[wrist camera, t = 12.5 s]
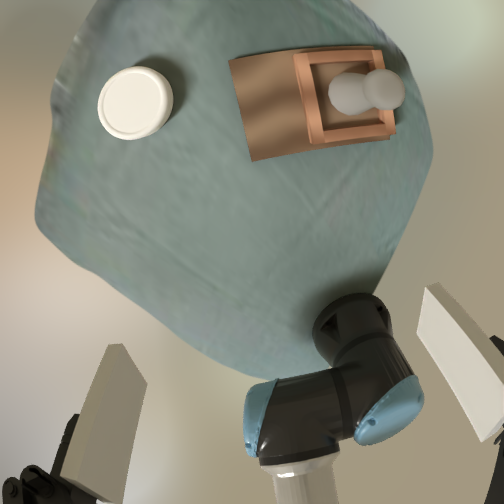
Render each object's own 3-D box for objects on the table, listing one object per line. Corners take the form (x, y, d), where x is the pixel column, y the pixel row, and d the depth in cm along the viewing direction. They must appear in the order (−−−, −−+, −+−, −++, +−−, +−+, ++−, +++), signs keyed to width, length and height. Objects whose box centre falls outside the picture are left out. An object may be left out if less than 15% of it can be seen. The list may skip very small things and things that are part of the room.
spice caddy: (385, 138, 37) (396, 141, 34) (251, 160, 38) (252, 164, 35) (369, 47, 31) (379, 43, 28) (228, 62, 32) (227, 57, 29)
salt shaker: (368, 85, 33) (421, 79, 21) (356, 121, 35) (406, 128, 23) (330, 67, 32) (372, 50, 20) (317, 105, 34) (355, 101, 22)
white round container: (164, 58, 31) (157, 54, 28) (182, 123, 36) (177, 124, 33) (99, 86, 32) (89, 84, 29) (117, 147, 36) (107, 151, 33)
